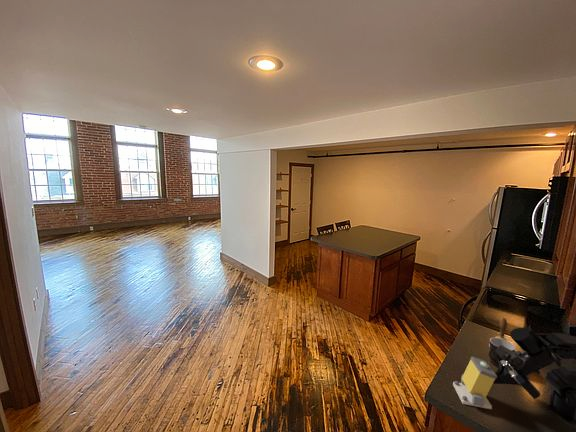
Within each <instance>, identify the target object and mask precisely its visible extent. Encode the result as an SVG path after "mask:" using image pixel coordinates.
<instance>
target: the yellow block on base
mask: <svg viewBox="0 0 576 432" xmlns="http://www.w3.org/2000/svg"><path fill="white" fill-rule="evenodd" d="M495 373H496V372H495V371H494V370H493V369H492V368H491V366H490V365H489V364H488V362H487V361H486V360H484V359H481V358H478V357H476V356H471V357H470V360H469V362H468V365H467V366H466V368H465V371H464V373H463V374H462V375H463V377H462V380H463V382H464V384H465V385H466V387H467V389H468V391H469V392H470V393H471V394H472V396H473V394H476V395H482V396H483V397H484V399H485V398H487V396H488V394H489V391H490V390H491V388H492V386H493V382H494V380H495V379H496V378H497V375H496V374H495Z"/></svg>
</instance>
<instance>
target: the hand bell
mask: <svg viewBox="0 0 576 432" xmlns="http://www.w3.org/2000/svg"><path fill="white" fill-rule="evenodd" d="M507 327H508V322H507V318H505V317H502V319H501V320H500V322H499V328H500V329H499V330H500V331H499V335H498V336H497V335H496V336H495V337H494V338H500V339H504V340H506V341H508V340H507V339H506V338H505V332H506V331H507ZM488 347H489V348H490V343H489V344H488Z"/></svg>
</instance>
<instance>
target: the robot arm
mask: <svg viewBox="0 0 576 432" xmlns="http://www.w3.org/2000/svg"><path fill="white" fill-rule="evenodd" d="M509 336H510V338H511V340H512V341H514V342H515V344H516V345H517V346H518V347H519V348H521V350H522V351H523V352H521V351H520V350H518V351H515V352H513V351H511V350H510V349H508V348H506V347H504V346H502V345H500V346H499V347H495V348H493V349H491V350H492V351H493V352H494V354H495V355H497V356H498V357H499V358H500V359H501V360H502V361H499V360H498V362H499V368H497V370H496V372H494V373H495V374H496V375H497V378H496V379H495V380H494V382H493V384H495V385H515V386H519V387H522V388H523V389H524V390H525V391H526V392H527V393H528V395H529V396H531V398H532V399H533V400H536V399H537V398H540V396H541V392H540V390H539V389H537V387H536V386H535V385H534V384H533V383H532V382H531V381H530V378H529V376H530V375H532V374H534V373H536V374H537V375H540V374H541V372H540V370H541V369H544V368H546V367H548V366H549V365H551V364H555V365H557V367H558V368H551V369H550V371H548V372H546V376H545V381H546V382H547V384H549V387H550V388H552V389H553V390H552V392H551V393H550V398H549V401H548V402H549V404H547V405H546V407H547V408H548V409H550V410H551V411H553V412H554V413H555V414H557V415H558V417H561V419H563V420H564V421H566V422H567V423H569V424H570V423H574V422H575V423H576V371H573V370H569V369H568V368H567V367H566V366H562V362H561V360H562V359H563V360H571V359H573V360H574V359H576V336H574V335H570V334H567V333H566V334H565V333H559V332H558V333H557V332H549V333H536V332H535V331H534V330H533V329H532V328H531V327H529V326H527V327H518V328H513V329H512V330H511V331H510V333H509ZM493 384H492V385H493Z"/></svg>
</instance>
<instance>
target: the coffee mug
mask: <svg viewBox="0 0 576 432" xmlns="http://www.w3.org/2000/svg"><path fill="white" fill-rule="evenodd" d="M506 340H507V339H506ZM506 340H504V339H500V338H495V337H491V338H489V344H490V347H489V352H488V357H489V359H490V360H489V361H490V364H491V365H493V366H494V367H495V368H497V369H498V368H499V362H498V360H499V361H502V360H501V359H500V358H499V357H498V356H497V355H495V354H494V352H493V351H492V350H491V349H493V348H495V347H499V346H500V345H502V346H504V347H506V348H508V349H510V350H511V351H513V352H516V351H515V350H516V346H515V345H514V344H513V343H512V342H510V341H509V340H507V341H506Z"/></svg>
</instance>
